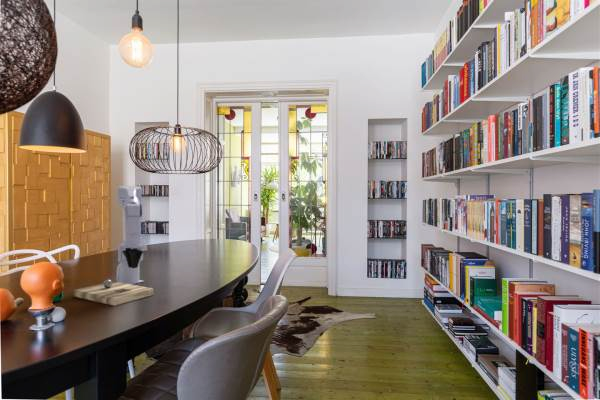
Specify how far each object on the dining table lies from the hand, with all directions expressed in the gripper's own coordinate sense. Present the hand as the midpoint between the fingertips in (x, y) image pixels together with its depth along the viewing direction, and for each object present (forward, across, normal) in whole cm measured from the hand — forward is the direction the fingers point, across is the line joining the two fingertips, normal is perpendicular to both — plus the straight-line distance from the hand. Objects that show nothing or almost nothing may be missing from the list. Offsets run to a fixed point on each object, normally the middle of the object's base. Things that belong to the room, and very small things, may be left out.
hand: (133, 267), depth 142 cm
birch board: (+9, 0, -8) cm, 12 cm away
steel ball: (+5, -4, -8) cm, 10 cm away
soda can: (+10, -12, -23) cm, 28 cm away
